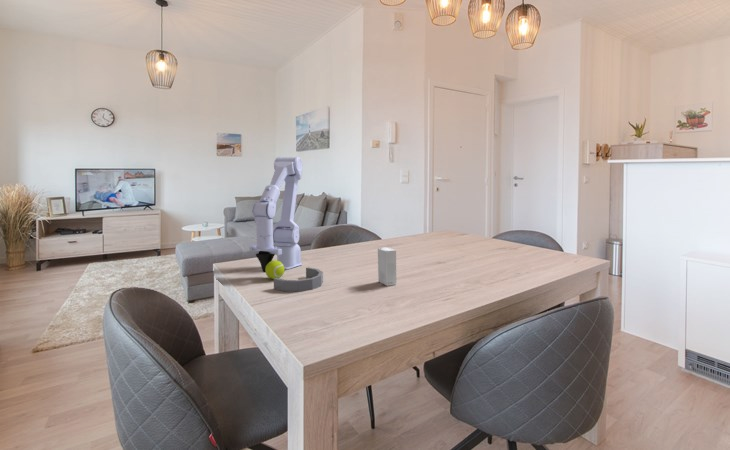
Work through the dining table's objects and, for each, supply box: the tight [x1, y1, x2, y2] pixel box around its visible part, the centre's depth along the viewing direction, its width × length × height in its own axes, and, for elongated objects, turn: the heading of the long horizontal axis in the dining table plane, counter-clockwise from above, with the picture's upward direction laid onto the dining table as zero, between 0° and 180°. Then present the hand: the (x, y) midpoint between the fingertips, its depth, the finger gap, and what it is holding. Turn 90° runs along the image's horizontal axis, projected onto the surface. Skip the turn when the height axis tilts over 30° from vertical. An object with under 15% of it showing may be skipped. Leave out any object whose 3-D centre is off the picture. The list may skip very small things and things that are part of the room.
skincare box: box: [377, 246, 397, 287], centre depth 129 cm, size 6×4×12 cm
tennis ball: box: [265, 259, 285, 280], centre depth 133 cm, size 7×7×7 cm
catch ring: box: [273, 266, 324, 293], centre depth 127 cm, size 17×11×4 cm, turn 148°
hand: (266, 271), depth 136 cm, fingers closed
